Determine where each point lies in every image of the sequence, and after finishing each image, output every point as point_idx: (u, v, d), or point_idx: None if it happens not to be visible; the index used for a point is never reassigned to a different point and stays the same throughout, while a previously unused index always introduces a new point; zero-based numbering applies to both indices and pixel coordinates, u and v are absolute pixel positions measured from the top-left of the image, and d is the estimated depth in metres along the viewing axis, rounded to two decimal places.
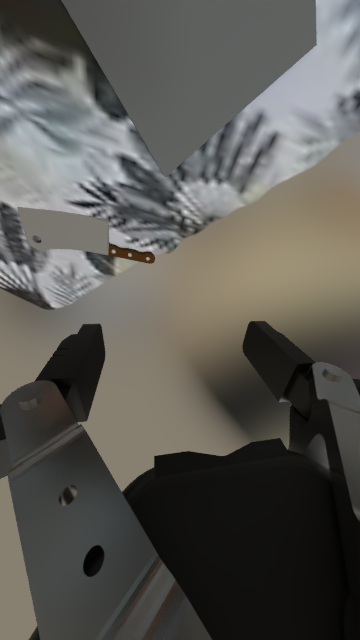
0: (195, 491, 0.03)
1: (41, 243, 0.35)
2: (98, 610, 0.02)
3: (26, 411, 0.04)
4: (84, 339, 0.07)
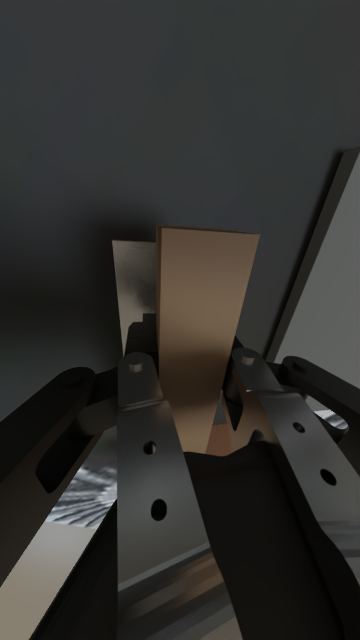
0: (195, 491, 0.03)
1: None
2: (156, 549, 0.02)
3: (139, 372, 0.06)
4: (150, 324, 0.09)
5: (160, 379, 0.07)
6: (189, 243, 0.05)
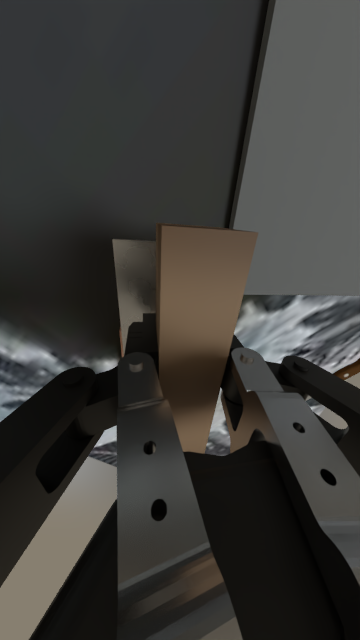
0: (195, 491, 0.03)
1: None
2: (156, 550, 0.02)
3: (139, 372, 0.06)
4: (150, 324, 0.09)
5: (160, 376, 0.07)
6: (189, 241, 0.05)
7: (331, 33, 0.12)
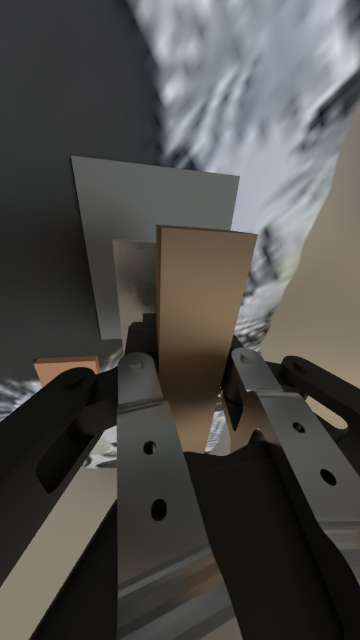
0: (195, 491, 0.03)
1: None
2: (156, 550, 0.02)
3: (139, 372, 0.06)
4: (151, 324, 0.09)
5: (160, 377, 0.07)
6: (188, 242, 0.05)
7: (118, 211, 0.21)
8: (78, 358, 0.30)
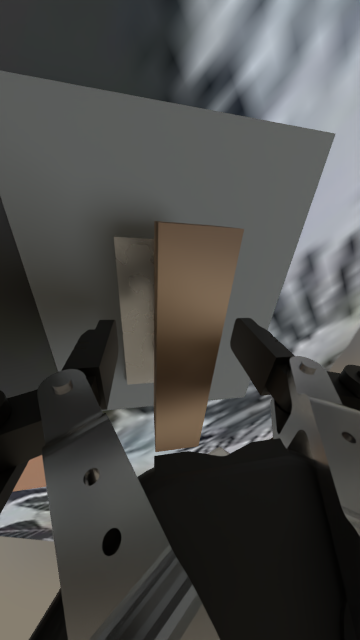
0: (195, 491, 0.03)
1: None
2: (114, 587, 0.02)
3: (61, 395, 0.05)
4: (103, 333, 0.08)
5: (158, 361, 0.08)
6: (182, 236, 0.05)
7: (86, 204, 0.10)
8: None
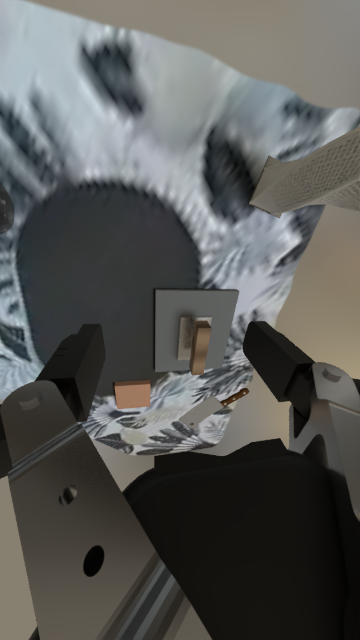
0: (195, 491, 0.03)
1: (194, 424, 0.62)
2: (98, 610, 0.02)
3: (26, 411, 0.04)
4: (84, 339, 0.07)
5: (195, 349, 0.37)
6: (201, 329, 0.35)
7: (174, 310, 0.40)
8: (139, 382, 0.49)
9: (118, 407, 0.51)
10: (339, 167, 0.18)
